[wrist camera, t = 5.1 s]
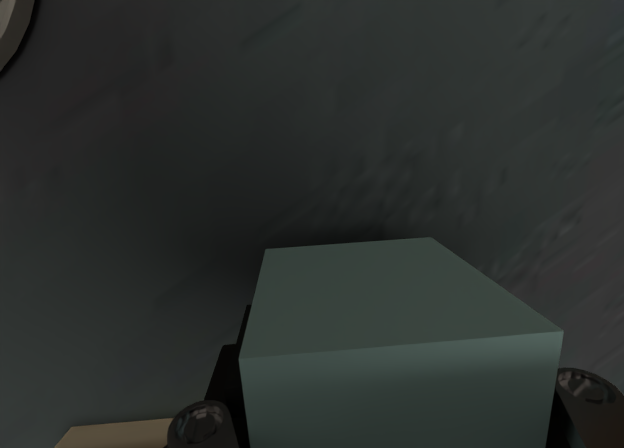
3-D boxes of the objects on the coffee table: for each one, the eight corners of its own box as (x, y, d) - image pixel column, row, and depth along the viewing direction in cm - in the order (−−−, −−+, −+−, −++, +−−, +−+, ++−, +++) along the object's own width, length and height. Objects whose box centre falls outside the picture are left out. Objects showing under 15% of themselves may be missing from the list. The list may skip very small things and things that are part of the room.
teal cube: (265, 249, 12) (239, 358, 6) (431, 237, 12) (563, 331, 6) (279, 390, 13) (268, 588, 7) (425, 376, 13) (527, 558, 8)
